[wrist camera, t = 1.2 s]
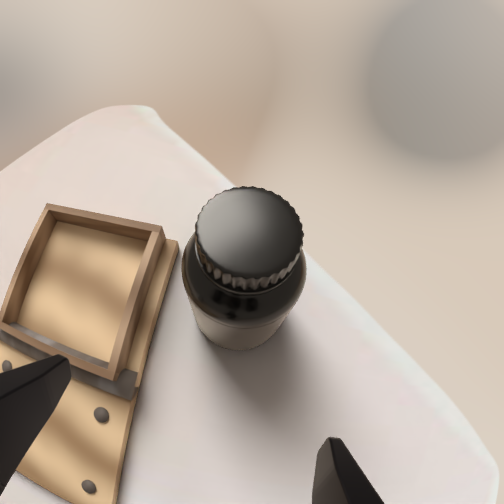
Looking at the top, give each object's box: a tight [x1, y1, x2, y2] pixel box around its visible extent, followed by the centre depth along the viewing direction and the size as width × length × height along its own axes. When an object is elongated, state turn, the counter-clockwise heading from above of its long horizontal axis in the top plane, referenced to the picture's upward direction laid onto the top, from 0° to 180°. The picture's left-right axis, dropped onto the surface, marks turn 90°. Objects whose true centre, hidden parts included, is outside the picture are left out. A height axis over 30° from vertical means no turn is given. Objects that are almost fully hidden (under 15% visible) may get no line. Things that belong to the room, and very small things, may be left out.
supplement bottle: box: [182, 186, 306, 350], centre depth 18 cm, size 7×7×12 cm
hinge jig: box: [0, 203, 179, 504], centre depth 19 cm, size 24×14×3 cm, turn 169°
